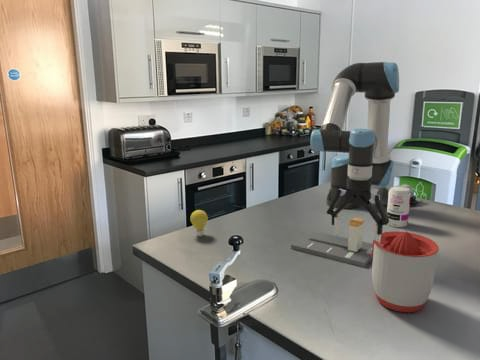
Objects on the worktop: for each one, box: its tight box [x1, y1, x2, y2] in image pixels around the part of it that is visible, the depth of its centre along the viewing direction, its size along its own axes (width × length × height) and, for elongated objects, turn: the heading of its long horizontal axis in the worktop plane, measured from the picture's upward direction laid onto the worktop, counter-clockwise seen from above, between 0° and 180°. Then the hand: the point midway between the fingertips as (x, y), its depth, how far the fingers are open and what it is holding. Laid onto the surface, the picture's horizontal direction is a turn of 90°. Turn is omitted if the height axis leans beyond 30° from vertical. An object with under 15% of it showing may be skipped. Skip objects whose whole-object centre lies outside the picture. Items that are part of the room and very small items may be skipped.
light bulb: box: [189, 209, 209, 237], centre depth 151 cm, size 7×7×10 cm
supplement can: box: [386, 185, 411, 229], centre depth 158 cm, size 8×8×15 cm
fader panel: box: [290, 229, 373, 268], centre depth 138 cm, size 16×26×2 cm, turn 55°
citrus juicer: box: [366, 230, 440, 314], centre depth 104 cm, size 16×17×20 cm
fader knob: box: [348, 217, 365, 252], centre depth 133 cm, size 5×3×10 cm, turn 145°
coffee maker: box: [376, 183, 418, 207], centre depth 185 cm, size 15×9×18 cm
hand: (355, 238), depth 133 cm, fingers open, 13 cm apart
